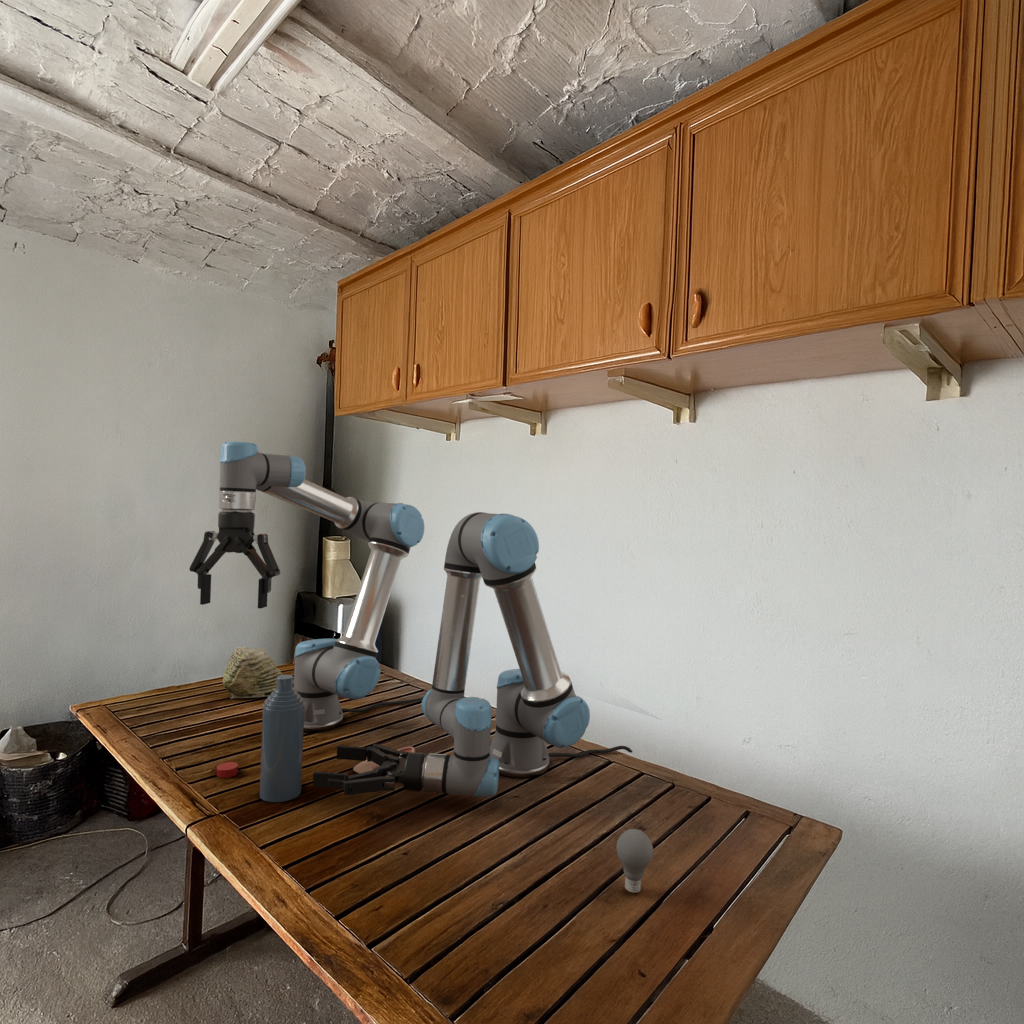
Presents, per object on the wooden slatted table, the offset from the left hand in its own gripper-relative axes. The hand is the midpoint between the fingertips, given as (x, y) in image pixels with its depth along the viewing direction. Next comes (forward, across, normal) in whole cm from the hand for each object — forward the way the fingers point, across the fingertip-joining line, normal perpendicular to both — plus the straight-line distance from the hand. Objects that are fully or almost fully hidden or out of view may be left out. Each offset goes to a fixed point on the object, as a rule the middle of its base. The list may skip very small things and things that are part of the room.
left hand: (233, 605), depth 142 cm
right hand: (+31, +25, -6) cm, 41 cm away
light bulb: (+38, +88, -27) cm, 100 cm away
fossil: (+38, -23, +53) cm, 69 cm away
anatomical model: (+38, +33, +10) cm, 51 cm away
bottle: (+38, +16, -6) cm, 42 cm away
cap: (+36, 0, 0) cm, 37 cm away
